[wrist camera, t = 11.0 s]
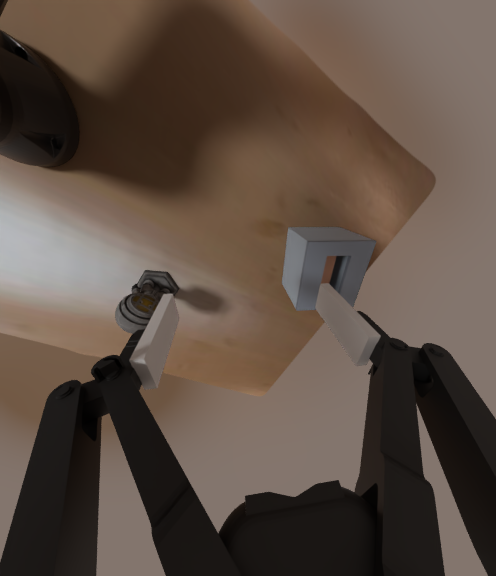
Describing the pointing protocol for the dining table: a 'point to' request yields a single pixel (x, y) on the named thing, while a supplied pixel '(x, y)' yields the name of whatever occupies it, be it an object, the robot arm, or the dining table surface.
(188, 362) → the dining table surface
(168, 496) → the robot arm
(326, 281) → the peach rectangular block
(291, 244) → the coin box
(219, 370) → the dining table surface
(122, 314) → the figurine
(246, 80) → the dining table surface
